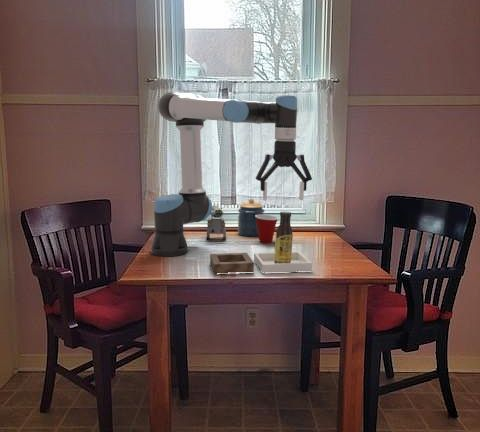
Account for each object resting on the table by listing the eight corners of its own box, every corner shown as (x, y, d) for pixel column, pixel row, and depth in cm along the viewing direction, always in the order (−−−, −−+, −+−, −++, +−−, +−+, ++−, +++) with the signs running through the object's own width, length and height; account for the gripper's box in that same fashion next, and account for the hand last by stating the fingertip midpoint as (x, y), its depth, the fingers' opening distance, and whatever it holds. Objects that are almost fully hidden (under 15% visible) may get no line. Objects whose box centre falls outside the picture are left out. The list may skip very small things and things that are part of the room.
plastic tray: (262, 274, 161) (262, 264, 160) (253, 261, 176) (254, 253, 176) (311, 272, 164) (312, 262, 163) (298, 260, 179) (299, 251, 179)
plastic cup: (279, 244, 204) (280, 218, 202) (255, 244, 204) (256, 218, 201) (276, 238, 215) (276, 213, 213) (253, 239, 214) (253, 213, 212)
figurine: (226, 236, 220) (226, 205, 217) (225, 241, 209) (225, 209, 206) (207, 235, 220) (207, 204, 218) (205, 241, 209) (205, 208, 206)
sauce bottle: (279, 268, 166) (280, 214, 162) (271, 263, 171) (272, 211, 168) (294, 266, 168) (296, 213, 165) (286, 261, 174) (288, 210, 170)
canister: (256, 238, 216) (257, 201, 213) (232, 234, 223) (233, 199, 219) (268, 233, 228) (269, 197, 224) (245, 230, 234) (246, 195, 231)
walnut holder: (214, 275, 159) (214, 264, 158) (210, 264, 173) (210, 253, 172) (253, 273, 161) (253, 262, 161) (246, 262, 175) (246, 252, 174)
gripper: (252, 140, 156) (251, 201, 160) (322, 141, 160) (319, 201, 164) (248, 139, 163) (247, 198, 167) (315, 140, 167) (312, 198, 171)
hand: (283, 200), depth 166 cm, fingers open, 13 cm apart
